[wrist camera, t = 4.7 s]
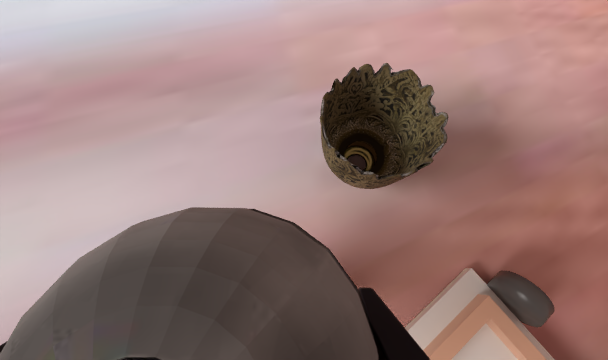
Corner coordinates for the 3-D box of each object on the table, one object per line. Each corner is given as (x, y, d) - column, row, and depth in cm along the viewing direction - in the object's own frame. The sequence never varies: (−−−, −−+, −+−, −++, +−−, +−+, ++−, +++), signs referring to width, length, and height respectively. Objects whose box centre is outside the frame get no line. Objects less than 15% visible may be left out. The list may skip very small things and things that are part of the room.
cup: (301, 135, 25) (305, 75, 17) (381, 115, 26) (418, 50, 18) (327, 218, 23) (345, 190, 15) (413, 193, 24) (470, 156, 16)
